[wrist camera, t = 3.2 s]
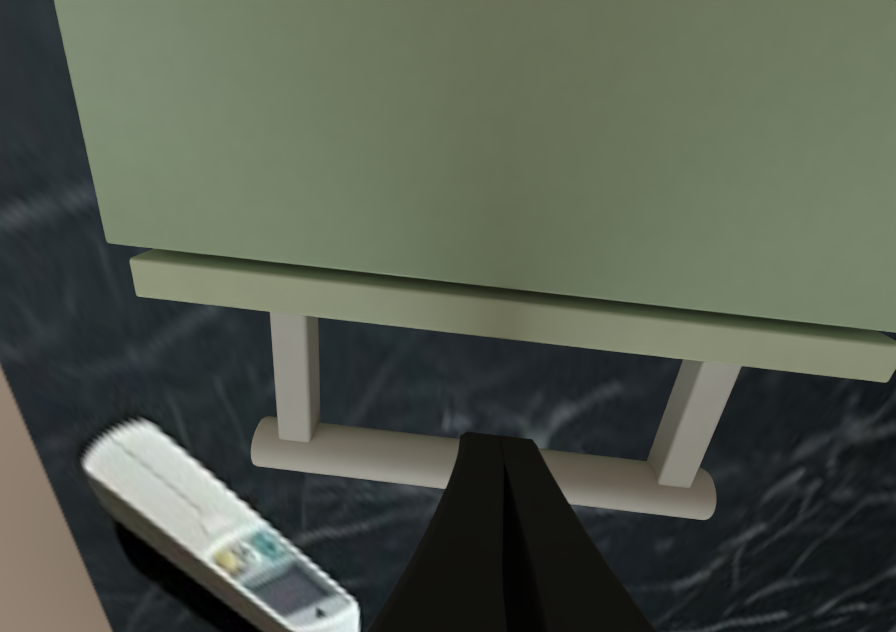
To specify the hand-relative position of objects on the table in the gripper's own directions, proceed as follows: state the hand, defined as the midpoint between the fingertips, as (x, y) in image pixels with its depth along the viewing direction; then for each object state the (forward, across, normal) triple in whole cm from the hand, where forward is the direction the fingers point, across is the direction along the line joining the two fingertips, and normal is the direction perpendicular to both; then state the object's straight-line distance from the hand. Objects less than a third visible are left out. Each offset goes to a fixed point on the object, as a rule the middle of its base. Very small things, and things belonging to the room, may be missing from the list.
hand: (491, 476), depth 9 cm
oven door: (+10, 0, -1) cm, 10 cm away
